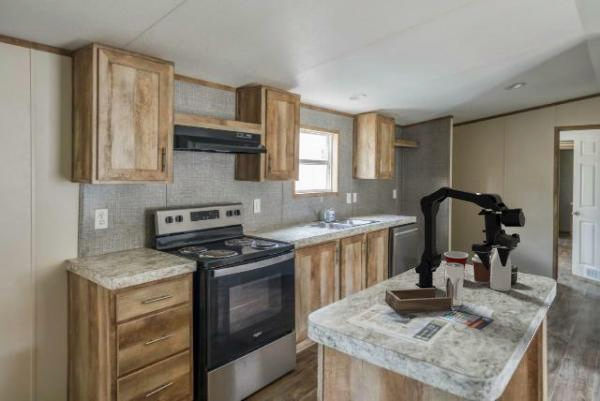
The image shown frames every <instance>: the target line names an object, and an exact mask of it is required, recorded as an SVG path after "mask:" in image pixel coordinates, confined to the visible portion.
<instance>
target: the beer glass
mask: <svg viewBox="0 0 600 401" xmlns="http://www.w3.org/2000/svg"><path fill="white" fill-rule="evenodd" d="M443 279H444V286H445V297H451V298H452V299H451V307H461V306H462V304H463V302H462V301H463V300H462V291H463V288H464V287H463V285H464V284H465V283H464V282H465V280H464V279H465V269H464V265H463V264H459V263H447V262H446V263H444V275H443Z"/></svg>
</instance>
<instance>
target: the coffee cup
mask: <svg viewBox="0 0 600 401" xmlns="http://www.w3.org/2000/svg"><path fill="white" fill-rule="evenodd" d="M471 261H472V264H473V265H472V267H473V281H474V283H477V284H485V285H487V284H490V276H491V261H492V256H491V255H490V268H489V270H486V269H485V267H484V265H483V263H482V262H481V260H480V258H479V257H478V256H477V254H476V253H475V254H474V257H472V258H471Z"/></svg>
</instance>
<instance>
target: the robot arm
mask: <svg viewBox="0 0 600 401" xmlns="http://www.w3.org/2000/svg"><path fill="white" fill-rule="evenodd" d="M448 198H451V199H455V200H459V201H464V202H469V203H473V204H475V206H478V207H480V208H482V209H481V210H480V211H479V212H478V213H477V215H478V216H483V219H484V220H483V221H484V222H483V223H484V229H482V233H484V236H485V237H484V238H485V240H483V241H482V242H476V243H472V244H471V246H470V247H471V252H473V253H474V254H475V255H476V254H477V256H478V257H479V258H480V260H481V262H482V263H483V265H484V267H485V269H486V270H489V268H490V256H491V255H492V254H493V252H494V251H493V252H492V250H493V249H496V248H497V247H498V248H497V251H498V254H499V258H500V261H501V264H502V266H503V267H505V266H506V263H507V260H508V256H509V257H510V254H511V253H512V252H513V251H515V249H516V248H518V244H519V243H521V236H520V234H519V233H515V232H514V233H512V234H508V233H506V230H505V229H504V228H502V227H503V226H504V227H505V228H524V227H525V225H526V216H525V214H524V212H523V208H522V207H518V208H509V207H508V206H507V205H506V204H505V202H503V199H502V197H501V195H500V194H498V193H492V192H491V193H480V192H474V191H467V190H465V189H459V188H454V187H450V186H441V187H440V188H439V189H437V190H436V191H434V192H432V193H430V194H428V195H426V196H422V198H420V200H419V203H420V204H419V205H420V211H421V212H422V215H423V219H424V220H423V221H424V223H423V224H424V225H423V226H424V227H423V230H424V233H423V236H424V240H423V242H424V248H423V251H422V254H421V257H420V263H419V264H418V265H417V266H415V268H414V272H415V274H418V282H415V285H416V286H417V287H419V289H420V288H435V289H436V288H437V286H435V285H434V281H433V280H434V278H433V277H434V276H433V275H434V273H436V272H437V269H439V267H441V264H442V263H443V262H442V253H439V252H438V251H437V215H438V214H439V211H440V206H441V204H442V203H443V202H444V201H445V200H446V199H448ZM502 225H503V226H502Z"/></svg>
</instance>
